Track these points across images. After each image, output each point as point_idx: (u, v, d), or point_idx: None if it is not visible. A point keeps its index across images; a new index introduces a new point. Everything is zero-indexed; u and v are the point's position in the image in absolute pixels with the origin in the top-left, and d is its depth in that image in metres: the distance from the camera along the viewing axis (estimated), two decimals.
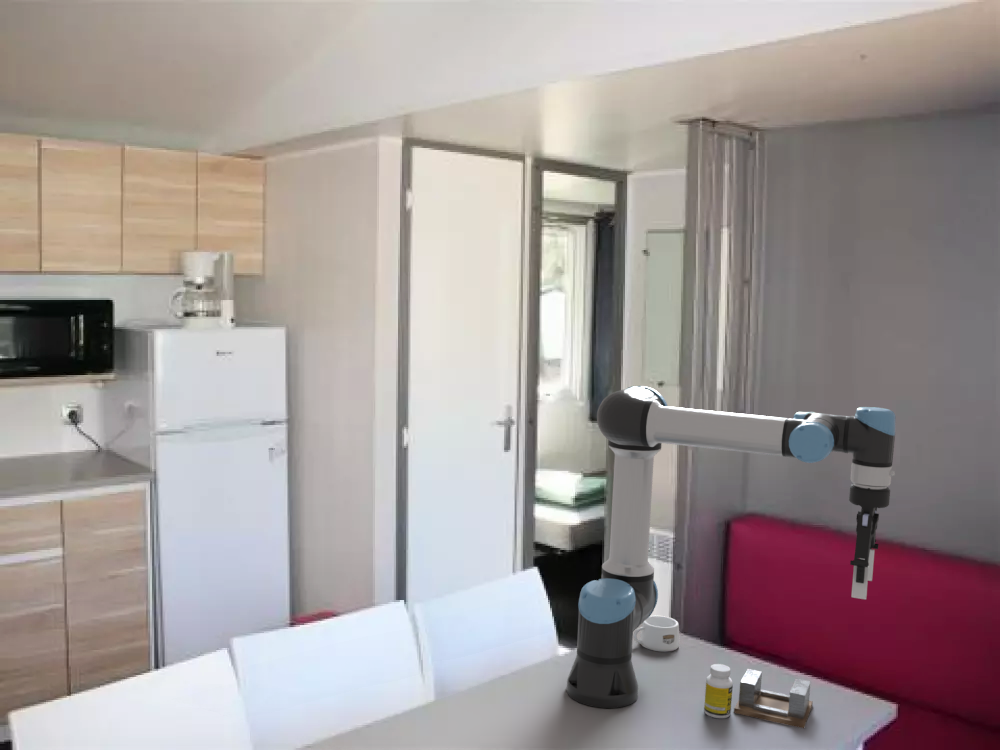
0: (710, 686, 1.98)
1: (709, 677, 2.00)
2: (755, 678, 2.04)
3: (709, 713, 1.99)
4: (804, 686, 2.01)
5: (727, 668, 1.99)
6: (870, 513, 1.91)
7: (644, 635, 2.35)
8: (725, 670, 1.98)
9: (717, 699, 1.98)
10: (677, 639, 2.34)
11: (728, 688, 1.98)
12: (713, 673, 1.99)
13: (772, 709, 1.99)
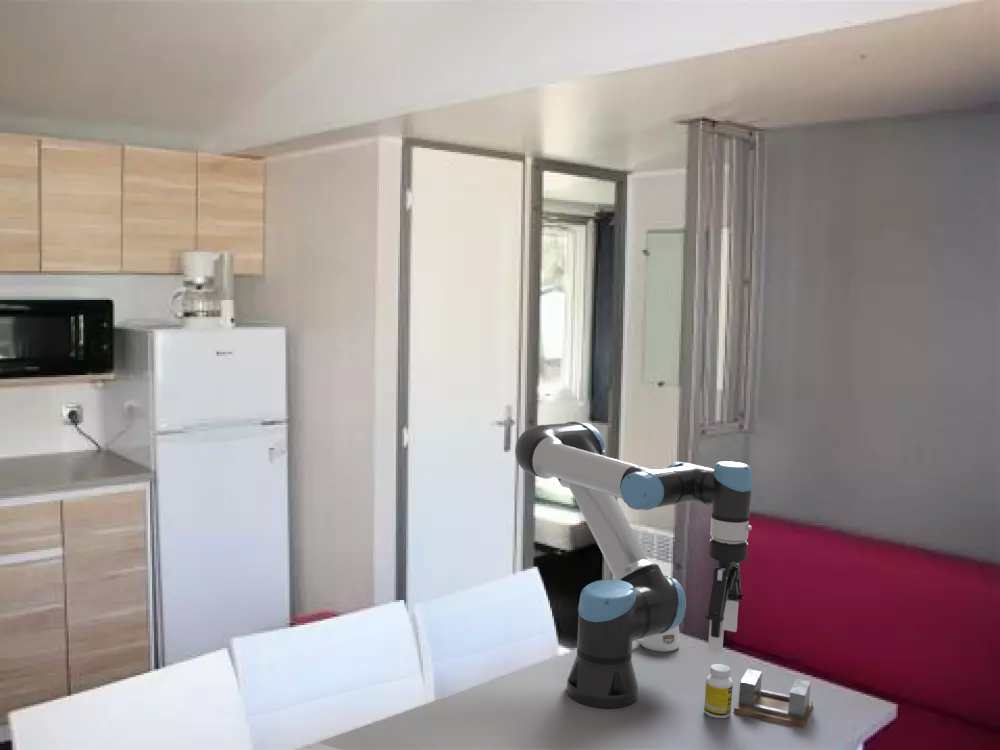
0: (710, 686, 1.98)
1: (709, 677, 2.00)
2: (755, 678, 2.04)
3: (709, 713, 1.99)
4: (804, 686, 2.01)
5: (727, 668, 1.99)
6: (726, 567, 1.94)
7: None
8: (725, 670, 1.98)
9: (717, 699, 1.98)
10: (677, 639, 2.34)
11: (728, 688, 1.98)
12: (713, 673, 1.99)
13: (772, 709, 1.99)
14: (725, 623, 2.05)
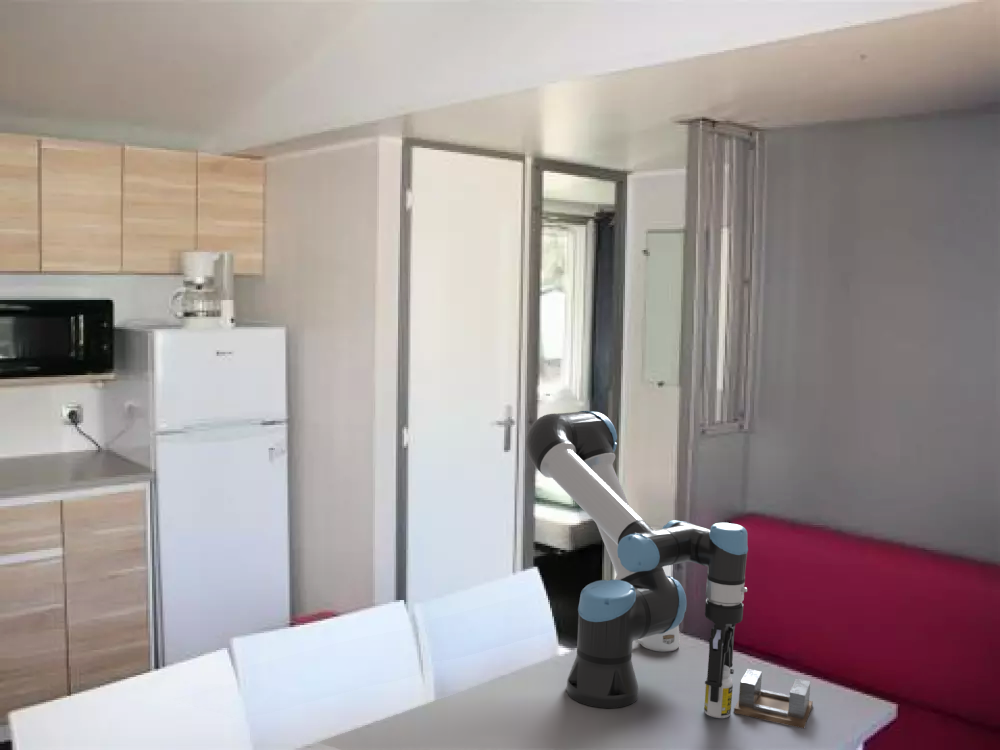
0: None
1: None
2: (755, 678, 2.04)
3: None
4: (804, 686, 2.01)
5: (727, 668, 1.99)
6: (721, 632, 1.95)
7: None
8: (725, 670, 1.98)
9: None
10: (677, 639, 2.34)
11: (728, 688, 1.98)
12: None
13: (772, 709, 1.99)
14: None
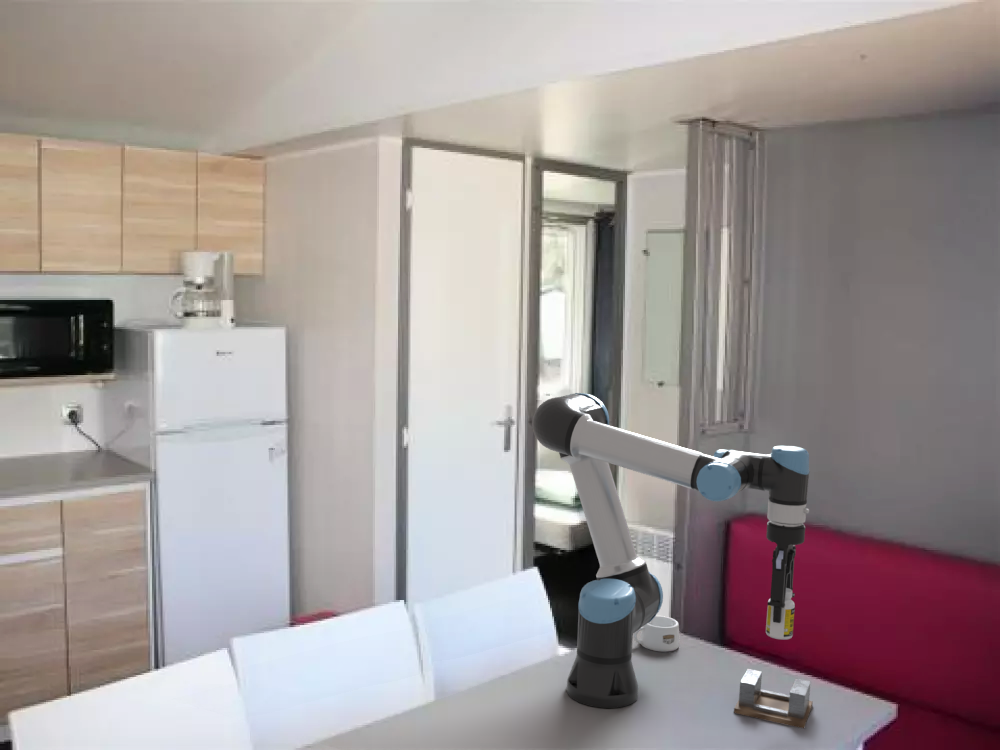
0: None
1: None
2: (755, 678, 2.04)
3: None
4: (804, 686, 2.01)
5: (789, 590, 2.01)
6: (784, 552, 1.96)
7: (644, 635, 2.35)
8: (787, 592, 1.99)
9: None
10: (677, 639, 2.34)
11: (790, 609, 1.99)
12: None
13: (772, 709, 1.99)
14: None
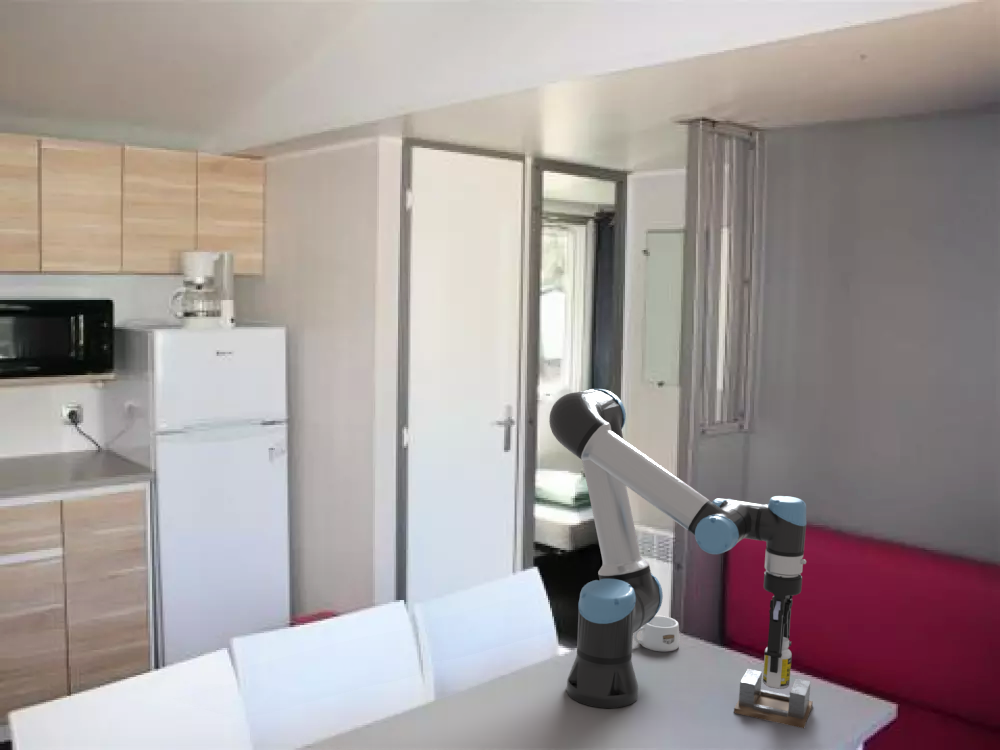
0: None
1: None
2: (755, 678, 2.04)
3: None
4: (804, 686, 2.01)
5: (786, 639, 2.02)
6: (781, 603, 1.97)
7: (644, 635, 2.35)
8: (784, 641, 2.01)
9: None
10: (677, 639, 2.34)
11: (787, 659, 2.00)
12: None
13: (772, 709, 1.99)
14: None
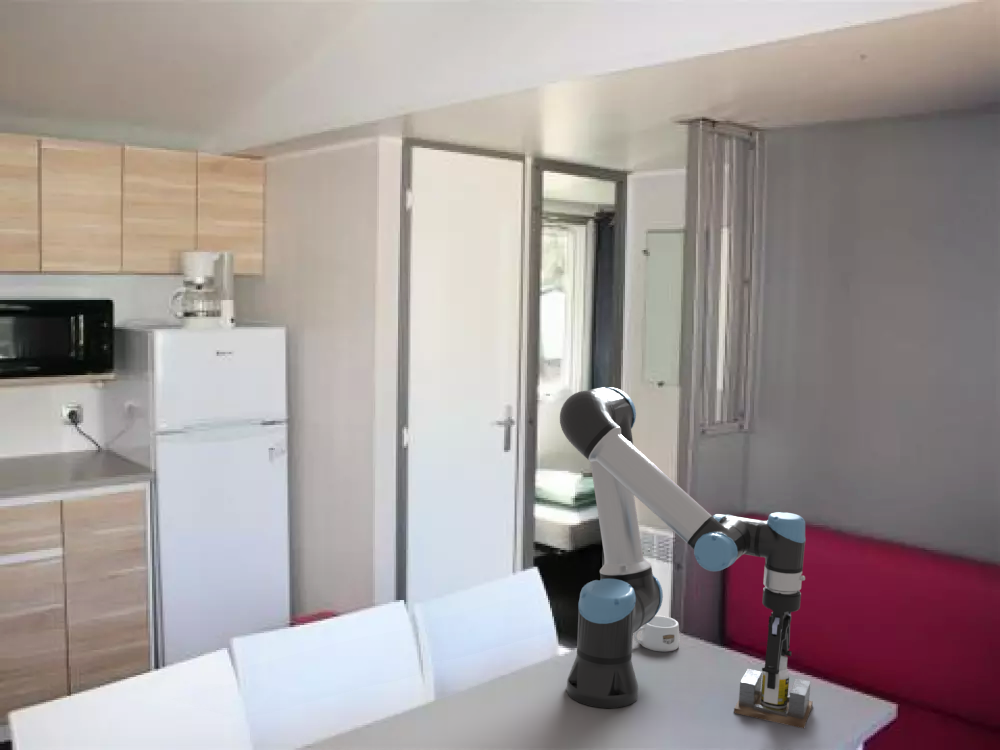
0: None
1: None
2: (755, 678, 2.04)
3: (766, 704, 2.02)
4: (804, 686, 2.01)
5: (783, 659, 2.02)
6: (780, 618, 1.98)
7: (644, 635, 2.35)
8: (782, 662, 2.01)
9: None
10: (677, 639, 2.34)
11: (785, 679, 2.01)
12: None
13: (772, 709, 1.99)
14: None
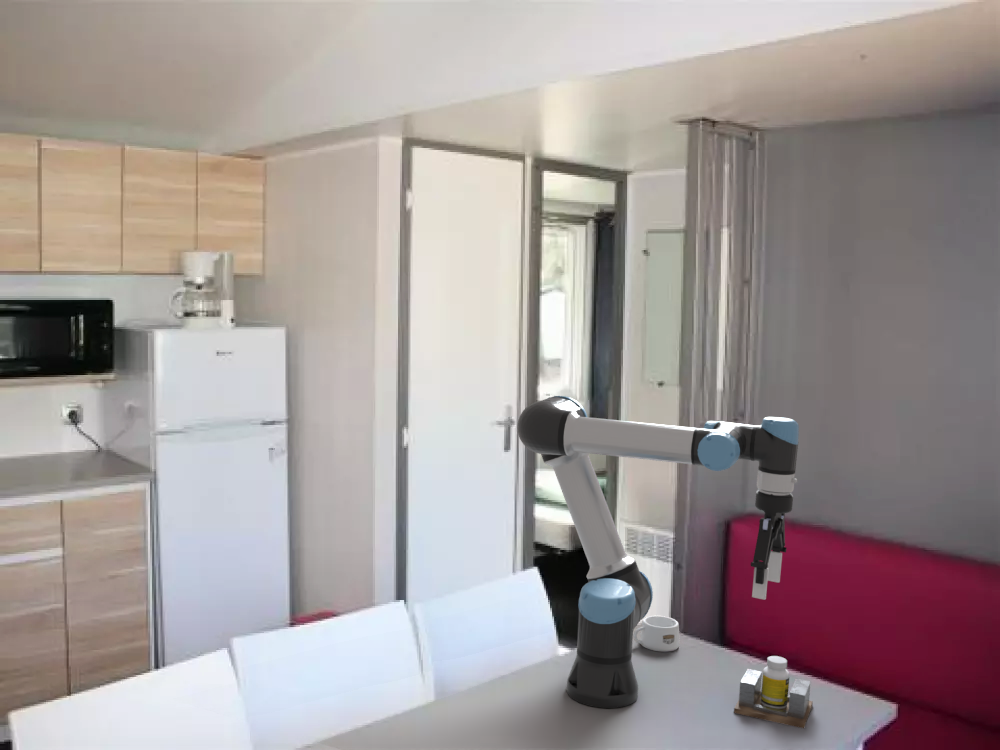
0: (768, 677, 2.01)
1: (766, 669, 2.03)
2: (755, 678, 2.04)
3: (766, 704, 2.02)
4: (804, 686, 2.01)
5: (784, 660, 2.02)
6: (772, 518, 2.01)
7: (644, 635, 2.35)
8: (782, 662, 2.01)
9: (775, 690, 2.01)
10: (677, 639, 2.34)
11: (785, 680, 2.01)
12: (770, 665, 2.02)
13: (772, 709, 1.99)
14: (769, 574, 2.13)
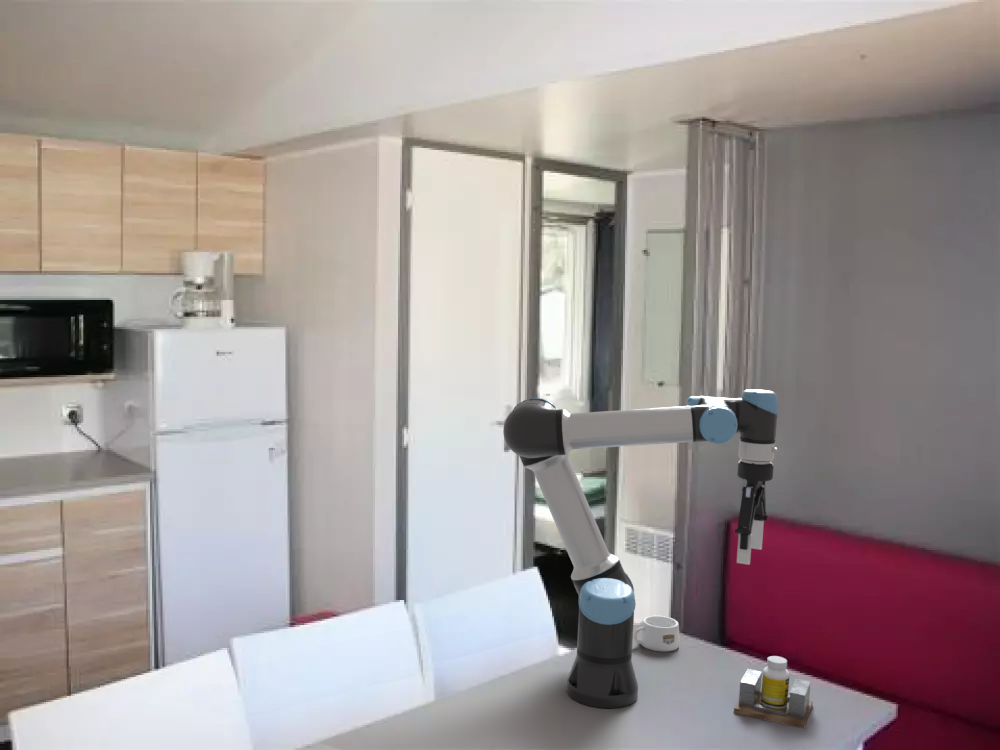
0: (768, 677, 2.01)
1: (766, 669, 2.03)
2: (755, 678, 2.04)
3: (766, 704, 2.02)
4: (804, 686, 2.01)
5: (784, 660, 2.02)
6: (754, 486, 2.09)
7: (644, 635, 2.35)
8: (782, 662, 2.01)
9: (775, 690, 2.01)
10: (677, 639, 2.34)
11: (785, 680, 2.01)
12: (770, 665, 2.02)
13: (772, 709, 1.99)
14: None
